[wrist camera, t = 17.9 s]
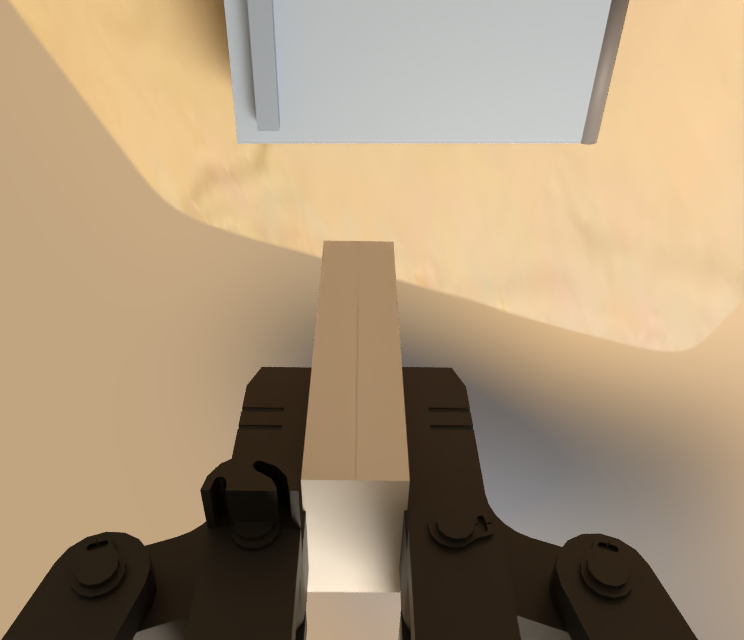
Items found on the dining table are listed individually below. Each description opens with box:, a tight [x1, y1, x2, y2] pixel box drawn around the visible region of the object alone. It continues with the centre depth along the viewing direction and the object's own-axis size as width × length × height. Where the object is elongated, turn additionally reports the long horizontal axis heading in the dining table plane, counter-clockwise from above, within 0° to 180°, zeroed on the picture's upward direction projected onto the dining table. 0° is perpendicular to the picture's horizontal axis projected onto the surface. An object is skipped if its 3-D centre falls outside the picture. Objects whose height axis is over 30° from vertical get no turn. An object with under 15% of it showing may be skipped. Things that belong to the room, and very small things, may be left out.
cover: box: [224, 0, 629, 144], centre depth 31 cm, size 8×18×2 cm, turn 89°
